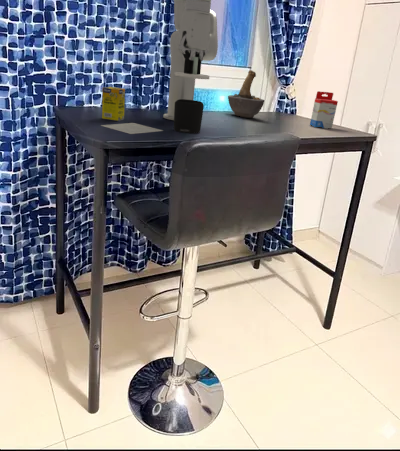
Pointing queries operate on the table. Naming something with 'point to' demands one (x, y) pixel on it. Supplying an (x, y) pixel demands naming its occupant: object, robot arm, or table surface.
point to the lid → (194, 75)
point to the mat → (131, 128)
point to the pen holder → (188, 116)
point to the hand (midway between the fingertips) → (192, 73)
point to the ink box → (323, 110)
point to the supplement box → (113, 103)
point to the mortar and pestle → (246, 99)
